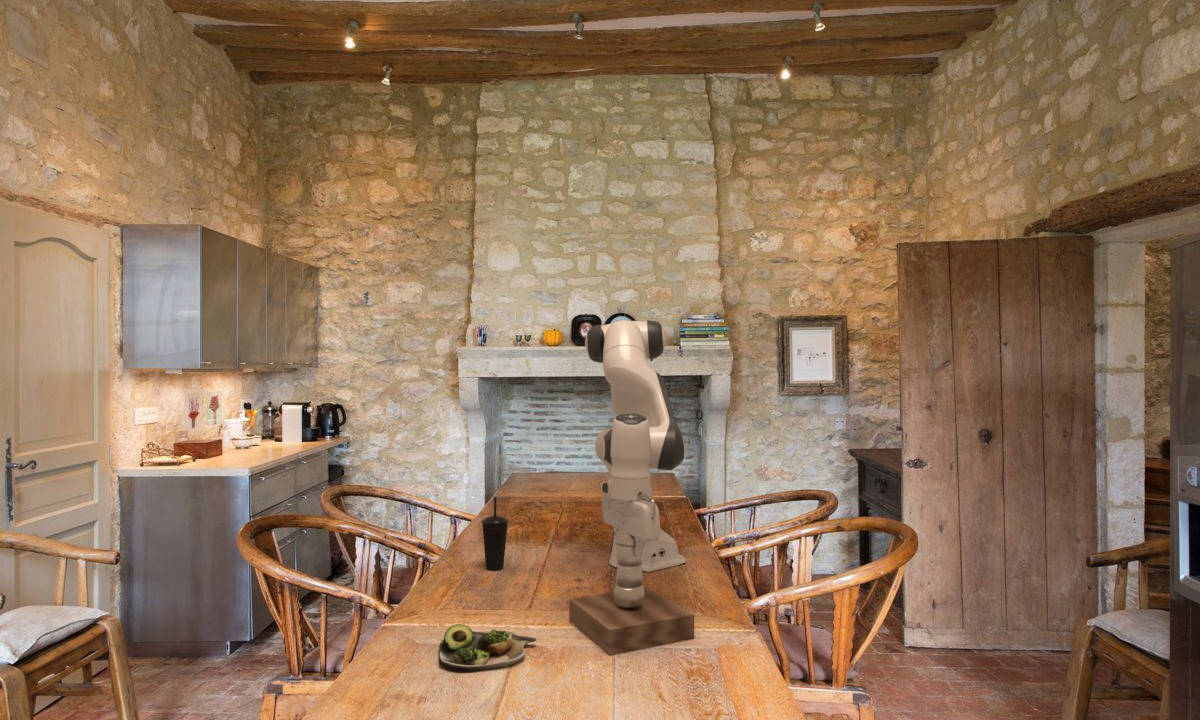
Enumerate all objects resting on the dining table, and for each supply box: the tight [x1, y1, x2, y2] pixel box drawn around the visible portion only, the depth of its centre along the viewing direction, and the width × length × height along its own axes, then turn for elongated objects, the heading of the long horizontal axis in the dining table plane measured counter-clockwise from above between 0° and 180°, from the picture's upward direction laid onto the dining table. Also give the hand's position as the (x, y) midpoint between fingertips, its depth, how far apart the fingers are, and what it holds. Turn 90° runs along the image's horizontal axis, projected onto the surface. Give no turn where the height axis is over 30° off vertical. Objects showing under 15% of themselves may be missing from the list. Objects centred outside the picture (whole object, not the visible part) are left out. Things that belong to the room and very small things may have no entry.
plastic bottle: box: [613, 515, 645, 608], centre depth 150 cm, size 6×7×20 cm
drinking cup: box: [481, 496, 510, 572], centre depth 195 cm, size 8×8×20 cm
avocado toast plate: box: [438, 623, 537, 673], centre depth 138 cm, size 19×18×5 cm
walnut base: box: [568, 586, 695, 656], centre depth 150 cm, size 20×20×5 cm
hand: (630, 552), depth 150 cm, fingers closed on plastic bottle, 6 cm apart
